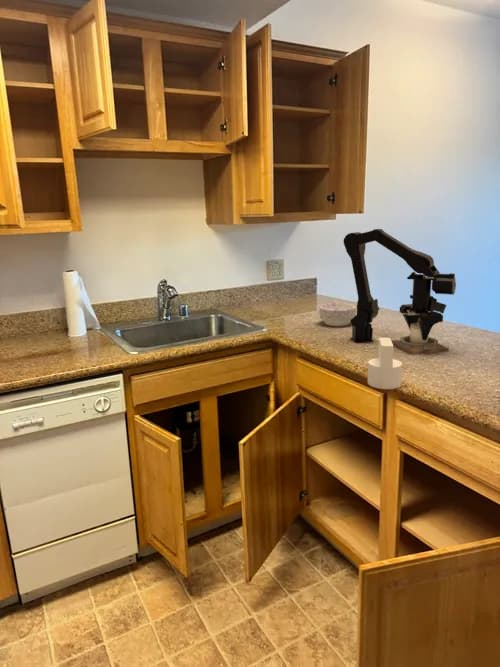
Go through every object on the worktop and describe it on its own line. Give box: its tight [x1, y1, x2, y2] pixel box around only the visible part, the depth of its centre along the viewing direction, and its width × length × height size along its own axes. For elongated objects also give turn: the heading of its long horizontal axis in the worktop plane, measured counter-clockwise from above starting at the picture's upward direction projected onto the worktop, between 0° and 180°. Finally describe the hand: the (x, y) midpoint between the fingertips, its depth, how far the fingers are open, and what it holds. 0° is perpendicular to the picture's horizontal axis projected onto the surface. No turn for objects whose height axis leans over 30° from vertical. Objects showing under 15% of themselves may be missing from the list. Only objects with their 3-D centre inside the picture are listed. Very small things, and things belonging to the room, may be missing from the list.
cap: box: [409, 323, 429, 344], centre depth 164 cm, size 6×6×7 cm
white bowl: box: [318, 302, 357, 327], centre depth 202 cm, size 15×15×8 cm
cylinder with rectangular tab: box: [367, 337, 403, 390], centre depth 131 cm, size 9×9×12 cm
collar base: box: [391, 335, 450, 355], centre depth 165 cm, size 14×14×2 cm
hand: (418, 337), depth 164 cm, fingers open, 7 cm apart
